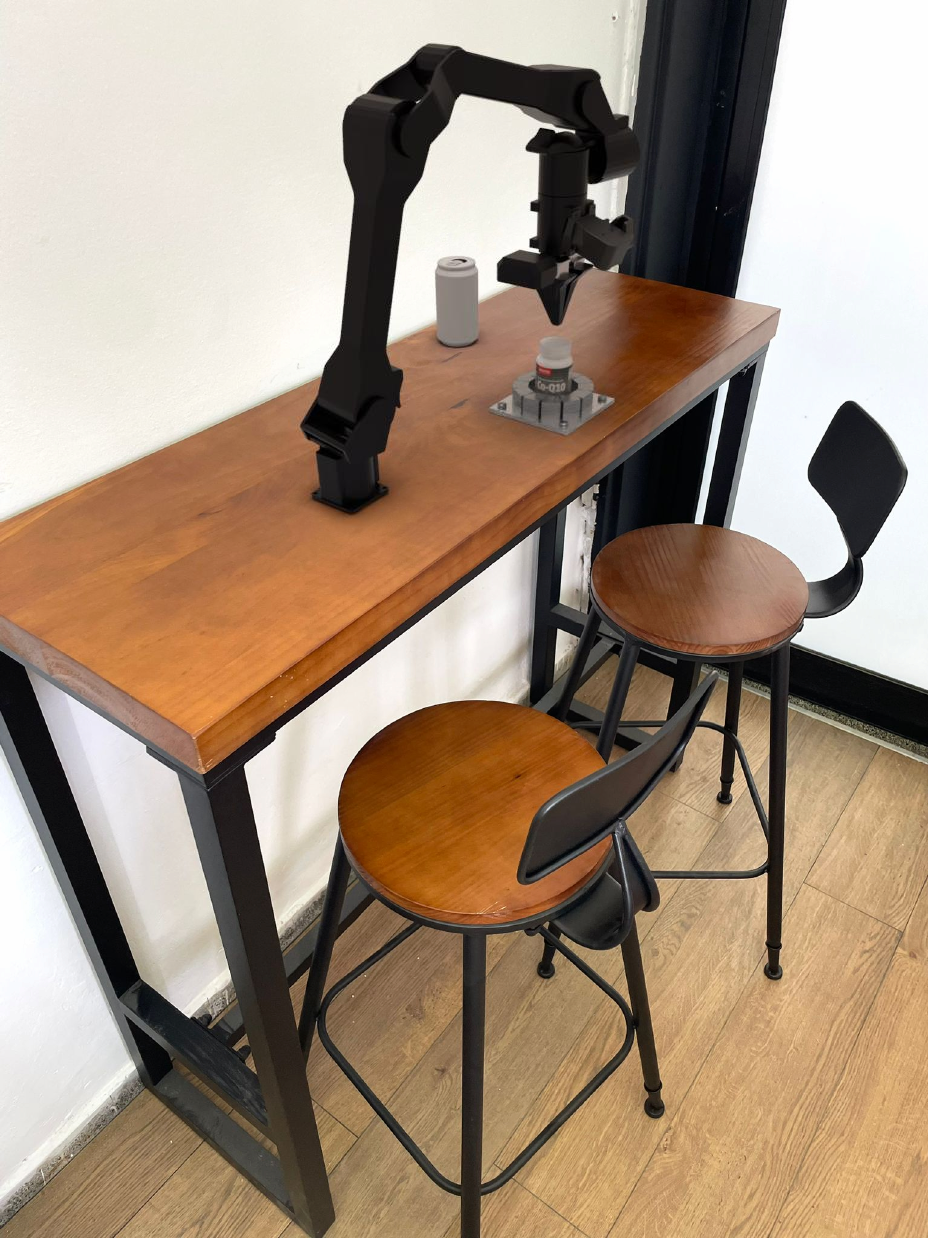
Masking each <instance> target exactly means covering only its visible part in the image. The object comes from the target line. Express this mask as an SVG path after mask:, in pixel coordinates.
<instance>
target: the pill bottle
mask: <svg viewBox="0 0 928 1238" xmlns="http://www.w3.org/2000/svg"><path fill="white" fill-rule="evenodd" d="M571 353H572V341H571V340H570V339H568V338H567V337H563V336H548V337H544V338H542V339H541V340H540V342H539V354H538V355H537V357H536V359H535V371H536V378H535V393H539V394H542V395H548V396H561V395H566V394H571V381H572V372H573V364H574V362H573V356H572V355H571Z"/></svg>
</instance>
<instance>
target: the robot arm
mask: <svg viewBox="0 0 928 1238" xmlns="http://www.w3.org/2000/svg"><path fill="white" fill-rule="evenodd" d="M601 79H602V76H601V74H600V73H599V72H598V71H597V70H595V69H594V68H590V67H589V68H588V67H581V66H580V67H579V66H573V65H572V66H570V65H563V64H562V65H561V64H553V63H543V64H531V65H524V64H520V63H516V62H511V61H509V60H508V61H507V60H505V59H499V58H495V57H491V56H488V55H484V54H480V53H475V52H473V51H467V50H465V49H464V48H462V46H458V45H455V44H454V45H453V44H446V43H445V44H443V43H434V42H433V43H432V42H431V43H426V44H425V45H422V46H421V47H420V48H419V49H417V50H416V52H415V53H414V54H413V55H412V56H411V57H410V58H409V59H408V60H407V61H406V62H405V63H403V64H402V65H400V66H399V67H397V68H396V69H394V70H393V71H391V72H389V73H388V74H386V75H385V76H383V77H382V78H380V79H379V80H377V81H376V82H375V83H374V84H373V85H372V86H371V87H370V88H369V90H368V91H367V92H366V93H363V94H361V95H359V96H357V97H356V98H355V99H354V100H353V101H352V102H351V103H350V104H348V105H347V106H346V108H345V111H344V113H343V118H342V124H341V125H342V127H341V130H342V131H341V132H342V156H343V157H342V158H343V159H342V161H343V164H344V168H345V170H346V173H347V177H348V179H349V180H348V181H349V183H350V188H351V189H352V193H353V205H352V207H353V208H352V215H351V217H352V218H351V224H350V225H351V226H350V237H349V246H348V254H347V255H348V256H347V257H348V258H347V265H346V274H345V275H346V277H345V284H344V285H345V287H344V295H343V307H342V317H341V327H340V336H339V341H338V345H337V346H336V348H335V349H334V351H333V352H332V353H331V355H330V357H329V358H328V359H327V361H326V362H325V363H324V365H323V366H324V367H323V369H322V370H323V371H322V374H321V379H320V382H319V388H318V392H317V395H316V397H315V399H314V401H313V402H312V404H311V406H310V408H308V411H307V412H306V414H305V416H304V418H303V419H302V421H301V422H300V425H299V428H300V429H301V431H302V433H303V435H304V438H305V439H306V441H309V442H313V443H314V444H316V445H318V446H319V449H318V450H316V451H315V457H316V458H315V460H316V467H317V474H318V475H317V476H318V482H319V488H317V489H316V490H314V491H312V492H311V493H310V495H311V498H312V499H314V500H317V501H318V502H322V503H323V504H326V505H328V506H331V507H333V508H336V509H338V510H341V511H343V512H346V513H348V514H355V513H358V511H360V510H361V509H364V508H365V507H366V506H368V505H370V504H371V503H373V502H374V501H376V500H378V499H379V498H381V497H383V496H384V495H386V494H388V492H390V489H389V486H388V485H385V484H382V483H380V482H379V481H380V479H381V478H380V469H379V467H380V466H379V455H380V454H383V453H385V452H386V449H387V444H388V440H389V436H390V430H391V427H392V423H393V421H394V420H395V419H394V418H395V415H396V412H397V408H398V409H400V408H401V407H402V405H401V400H400V399H401V390H402V386H403V382H404V371H403V369H402V368H399V367H396V366H395V365H392V364H391V361H390V359H389V356H388V350H387V348H388V347H387V346H388V340H389V339H388V338H389V331H390V323H391V315H392V306H393V298H394V292H395V291H394V290H395V283H396V274H397V273H396V272H397V268H398V267H397V266H398V257H399V249H400V241H401V234H402V227H403V226H402V224H403V217H404V210H405V205H406V202H407V201H408V199H409V198H410V197H411V195H412V194H413V192H414V190H415V189H416V188H417V186H418V185H419V183H420V181H421V180H422V178H423V177H424V176H423V175H424V171H425V170H426V169H425V168H426V163H427V160H428V156H429V152H430V149H431V145H432V144H433V143H434V142H435V141H436V139H437V138H438V137H439V136H440V135H441V133H443V131H444V130H445V129H446V128H447V127H448V126H449V123H450V120H451V118H452V113H453V111H454V107H455V105H456V101H457V100H458V99H459V97H461V96H466V97H467V96H468V97H473V98H477V99H482V100H487V101H493V102H497V103H503V104H507V105H512V106H514V107H516V108H518V109H520V111H521V112H522V113H523V114H524V115H526V116H528V117H530V118H532V119H534V120H536V121H538V122H540V123H543V124H548V125H549V124H550V125H552V126H553V127H554V128H557V129H563V131H560V132H559V131H558V132H556V131H555V129H551V128H545V127H539V128H538V129H537V132H536V134H535V135H534V136H533V137H532V138H531V139H530V140H529V141H528V142H527V143H526V145H525V148H524V149H525V151H526V152H527V153H532V154H536V155H538V180H537V181H538V183H537V186H538V187H537V199H535V200H531V201H530V202H529V203H530V204H529V205H530V207H529V210H530V212H534V213H536V216H537V217H536V222H537V223H536V235H535V236H532V237H530V238H529V243H528V244H529V246H528V247H529V248H530V249H534V250H535V249H536V250H538V252H533V251H529V250H524V249H518V250H516V251H513V252H511V253H509V254H506V255H504V256H502V258H500V260H499V261H497V262H496V281H497V282H499V283H503V284H507V285H512V286H515V287H520V288H521V287H522V288H525V289H529V290H530V289H531V290H533V291H534V290H535V291H536V292H537V294H538V297H539V299H540V301H541V303H542V306H543V308H544V310H545V312H546V315H547V317H548V319H549V321H550V323H551V325H552V326H555V327H559V326H561V325H562V324H563V323H564V319H565V316H566V314H567V311H568V308H569V306H570V302H571V299H572V296H573V294H574V290H575V288H576V286H577V284H578V281H579V280H580V279H581V278H582V277H583V276H584V275H586V274H587V273H588V272H590V271H591V270H593V269H594V268H596V270H599V271H601V272H609V271H610V270H611V269H612V268H613V267H615V266H620V265H621V264H622V263H623V260H624V258H625V255H626V254H627V251H628V250H629V249H631V248H633V247H634V246H635V241H634V238H635V234H634V219H633V218H632V217H631V216H629V215H628V214H625V213H623V214H621V215H619V216H617V217H615V218H614V219H613V220H612V221H611V222H610V218H604V219H602V218H601V217H598V216H597V213H596V208H597V204H596V203H595V199H590V198H588V189H589V187H588V186H589V185H592V186H593V185H597V184H598V185H599V184H601V183H605V182H609V181H613V180H616V179H620V178H625V177H627V176H629V175H631V174H632V173H633V172H634V171H635V170H636V168H637V166H638V164H639V162H640V158H641V151H642V150H641V147H640V142H639V140H638V136H637V135H636V133H635V131H634V130H633V129H632V128H631V127H630V116H629V115H628V114H621V113H613V110H612V108H611V105H610V103H609V100H608V98H607V95H606V93H605V90H604V88H603V86H602V82H601V81H602V80H601ZM564 130H565V131H564ZM567 130H568V131H567ZM571 131H574V132H571ZM585 260H586V261H588V262H590V263H588V262H585Z"/></svg>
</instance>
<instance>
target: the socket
mask: <svg viewBox="0 0 928 1238" xmlns="http://www.w3.org/2000/svg"><path fill="white" fill-rule="evenodd" d="M535 378H536V370H535V371H528V372H526V373H522V374H521V375H520V376H518V377H516V378H514V380H513V383H512V384H513V385H512V394H510V395H509V396H506V397H505V398H503V399H502V400H500V401H498V402H496V403H495V404H493V405H491V406H490V407H489V411H488V412H489V413H491V414H493V415H494V414H495V415H497V416H501V417H505V418H507V419H511V420H515V421H517V422H520V423H523V424H527V425H530V426H533V427H537V428H541V429H544V430H546V431H550V432H553V433H557V434H560V435H563V436H568V435H570V434H571V433H573V432H574V431H576V430H577V429H578V428H579V427H581V426H582V425H584V424H586V423H588V422H589V421H590V420H591V419H593V418H595V417H596V416H597V415H599V414H600V413H601V412H603V411H605V410H606V409H607V408H609V407H611V406H612V405H614V404H615V398H613V397H610V396H607V395H605V394H598V393H594V387H595V385H594V382H593V381H592V380H591V379H589V378H588V377H587V376H586V375H583V374H582V373H578V372H574V371H572V381H571V394H566V395H561V396H548V395H542V394H539V393H535ZM604 409H605V410H604Z"/></svg>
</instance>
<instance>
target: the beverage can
mask: <svg viewBox="0 0 928 1238" xmlns="http://www.w3.org/2000/svg"><path fill="white" fill-rule="evenodd" d="M436 263H437V266H436V268H435V270H434V282H435V283H434V284H435V308H436V309H435V311H436V334H437V339H438V340H439V342H442V343H443V345H445V346H447V347H448V346H449V347H458V348H459V347H466V346H468V345H471V344H472V343H474V341H476V340H477V339H478V338H479V329H480V328H479V269H478V267H477V265H476V259H474V258H472V257H470V256H464V255H451V256H445V257H441V258H439V259H438V260H437V262H436Z"/></svg>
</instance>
